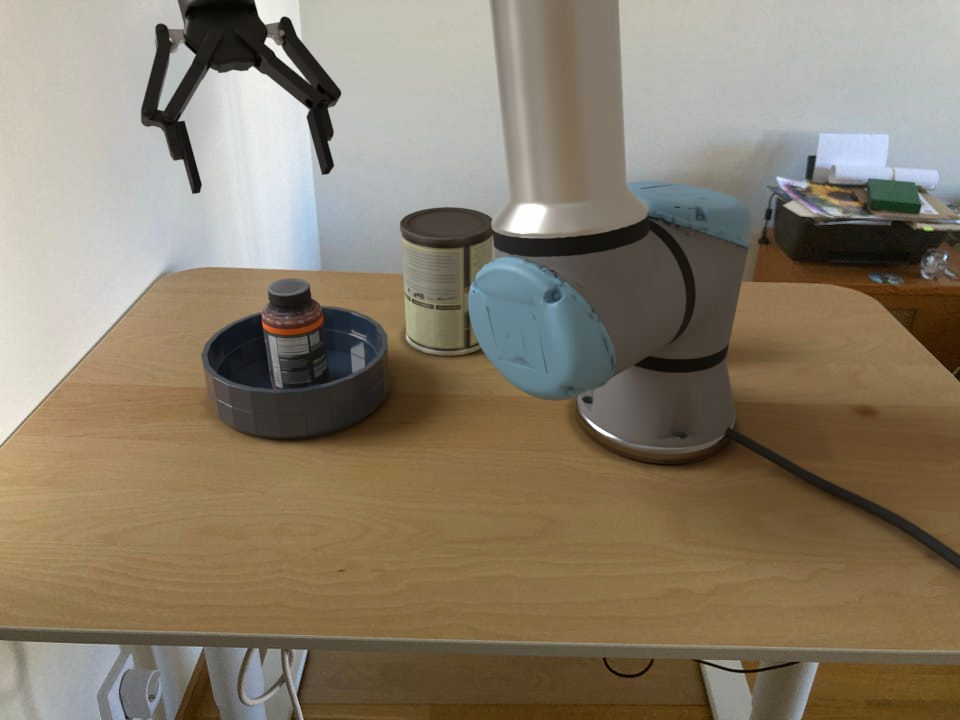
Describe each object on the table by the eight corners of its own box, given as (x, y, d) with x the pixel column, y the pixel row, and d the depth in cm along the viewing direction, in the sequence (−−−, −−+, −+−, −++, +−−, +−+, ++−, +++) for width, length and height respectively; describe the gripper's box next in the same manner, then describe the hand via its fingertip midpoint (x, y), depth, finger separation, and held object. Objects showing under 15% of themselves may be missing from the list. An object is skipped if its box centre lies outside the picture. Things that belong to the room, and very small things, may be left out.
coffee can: (412, 314, 96) (408, 204, 90) (494, 318, 96) (497, 208, 89) (397, 354, 88) (391, 236, 81) (488, 359, 87) (490, 240, 80)
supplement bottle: (282, 369, 83) (269, 271, 78) (336, 372, 83) (327, 274, 77) (263, 398, 78) (248, 296, 72) (321, 402, 77) (310, 299, 72)
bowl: (426, 383, 82) (424, 337, 79) (292, 466, 69) (285, 414, 67) (309, 333, 92) (304, 291, 89) (173, 398, 79) (163, 351, 76)
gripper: (320, -6, 88) (368, 174, 89) (81, 5, 78) (136, 208, 78) (335, -44, 82) (387, 151, 82) (75, -37, 71) (136, 186, 71)
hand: (265, 180), depth 80 cm, fingers open, 13 cm apart
